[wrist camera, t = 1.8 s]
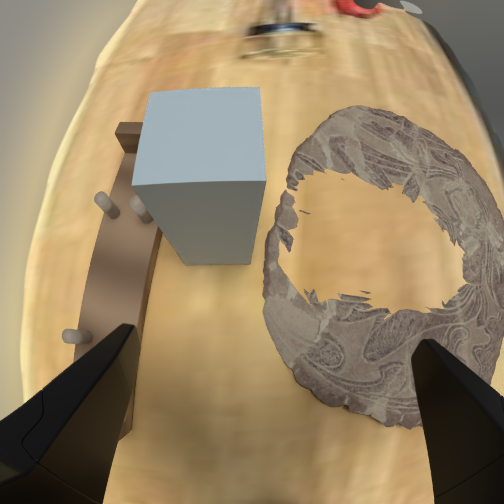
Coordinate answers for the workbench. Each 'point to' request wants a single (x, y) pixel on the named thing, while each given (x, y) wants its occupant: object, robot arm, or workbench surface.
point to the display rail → (119, 261)
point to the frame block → (204, 171)
